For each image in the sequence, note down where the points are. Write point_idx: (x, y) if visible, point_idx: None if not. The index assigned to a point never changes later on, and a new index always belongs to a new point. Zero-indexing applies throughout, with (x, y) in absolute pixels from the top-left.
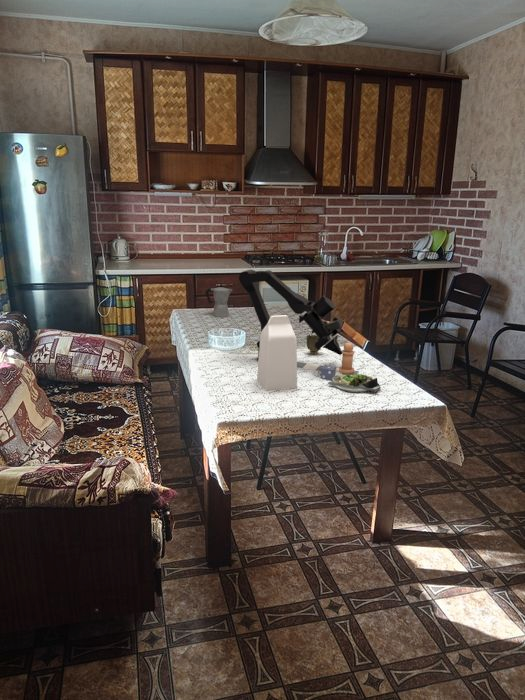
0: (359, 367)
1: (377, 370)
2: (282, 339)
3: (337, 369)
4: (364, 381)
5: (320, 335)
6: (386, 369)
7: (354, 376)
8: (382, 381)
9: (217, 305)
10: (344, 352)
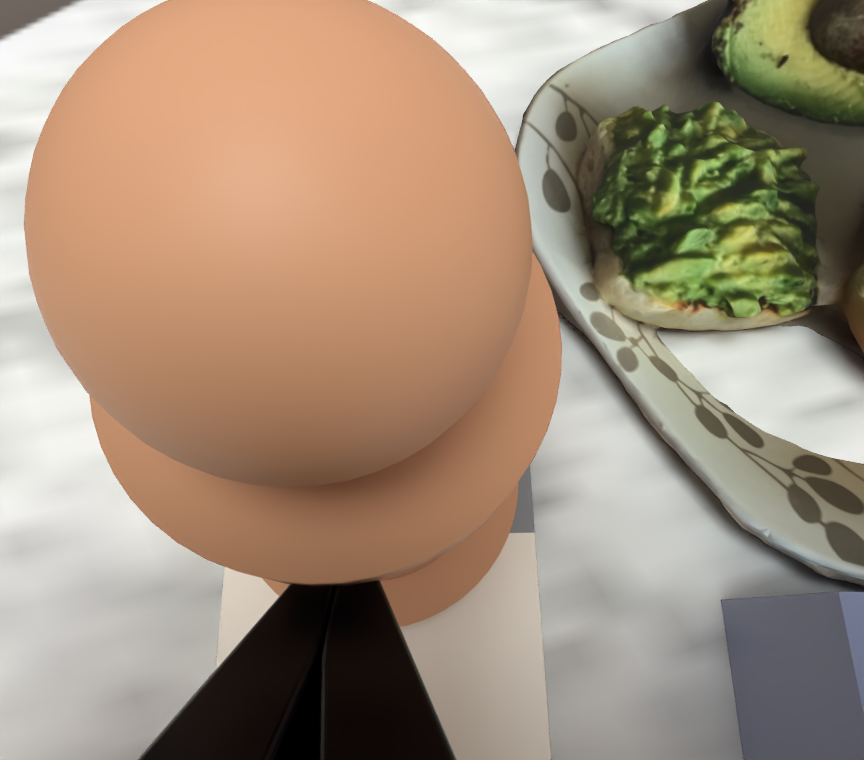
0: (21, 369)
1: None
2: None
3: None
4: (764, 133)
5: None
6: (3, 50)
7: (759, 250)
8: (501, 20)
9: None
10: (541, 417)
